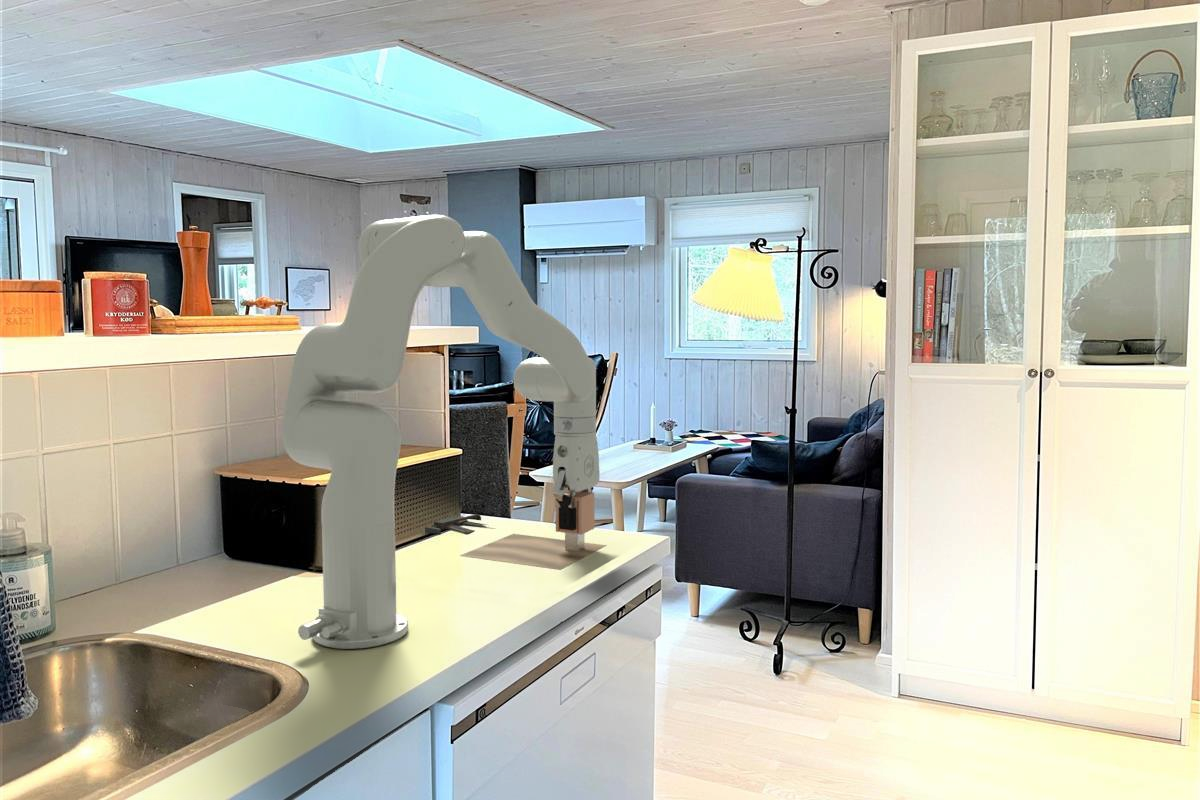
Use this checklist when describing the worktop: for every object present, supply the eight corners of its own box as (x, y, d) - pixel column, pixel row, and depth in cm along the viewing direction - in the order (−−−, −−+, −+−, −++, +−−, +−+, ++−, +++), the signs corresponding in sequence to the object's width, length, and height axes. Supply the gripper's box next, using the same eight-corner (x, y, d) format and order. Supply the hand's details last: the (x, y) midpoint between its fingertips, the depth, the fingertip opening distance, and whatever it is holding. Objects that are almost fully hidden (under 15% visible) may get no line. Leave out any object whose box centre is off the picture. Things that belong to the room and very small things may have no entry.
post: (577, 559, 159) (577, 521, 158) (565, 557, 160) (565, 519, 159) (584, 556, 161) (584, 518, 160) (571, 554, 162) (571, 516, 162)
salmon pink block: (581, 534, 157) (581, 497, 156) (555, 531, 159) (555, 495, 158) (594, 528, 161) (594, 492, 161) (569, 525, 164) (569, 490, 163)
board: (560, 578, 147) (560, 569, 147) (459, 563, 156) (459, 555, 156) (606, 553, 163) (606, 545, 163) (513, 541, 172) (513, 533, 172)
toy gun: (524, 520, 185) (463, 509, 191) (476, 532, 168) (411, 521, 174) (522, 534, 185) (461, 523, 191) (475, 548, 168) (410, 536, 174)
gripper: (571, 432, 149) (571, 538, 151) (614, 422, 164) (614, 518, 166) (532, 430, 152) (533, 534, 154) (578, 420, 168) (578, 514, 169)
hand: (575, 524), depth 160 cm, fingers closed on salmon pink block, 5 cm apart
